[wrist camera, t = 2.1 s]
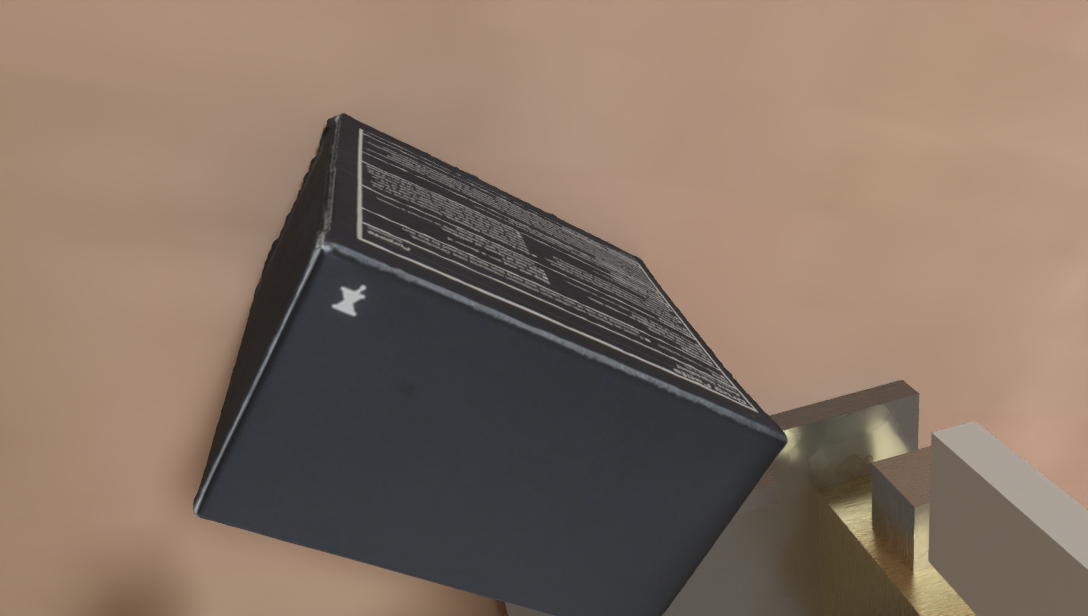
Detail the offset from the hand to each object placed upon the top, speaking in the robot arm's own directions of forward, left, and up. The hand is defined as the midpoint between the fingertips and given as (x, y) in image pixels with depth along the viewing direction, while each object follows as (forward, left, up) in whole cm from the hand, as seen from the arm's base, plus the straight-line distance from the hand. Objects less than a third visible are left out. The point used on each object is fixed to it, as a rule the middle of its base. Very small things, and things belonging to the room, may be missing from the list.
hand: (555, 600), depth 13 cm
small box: (0, 0, -14) cm, 14 cm away
